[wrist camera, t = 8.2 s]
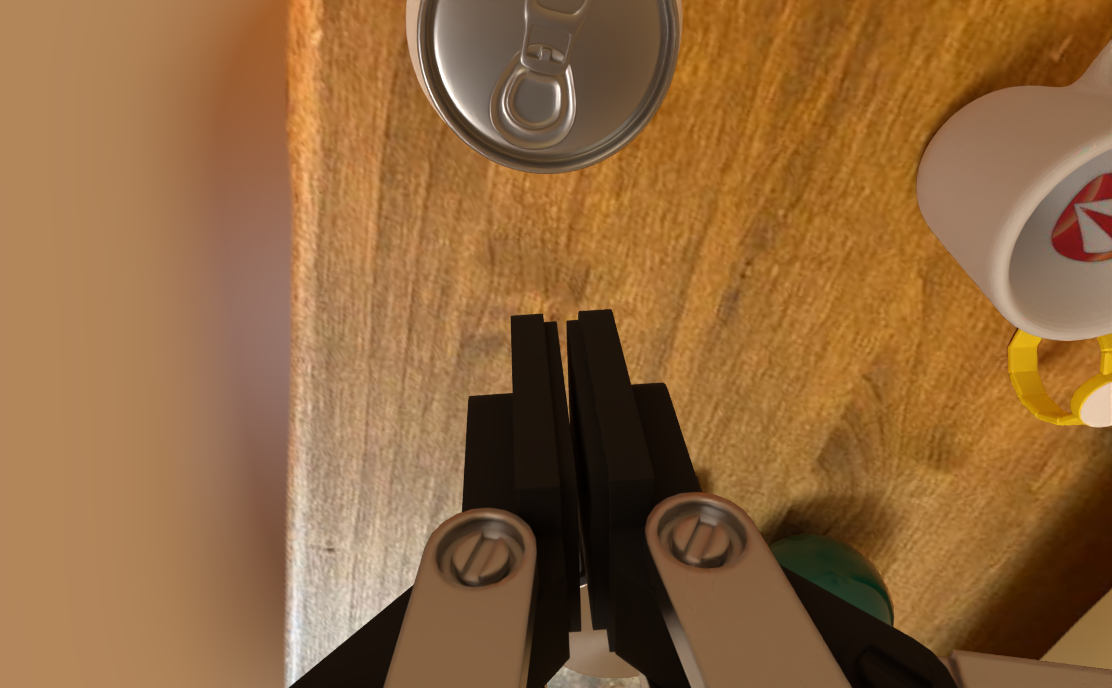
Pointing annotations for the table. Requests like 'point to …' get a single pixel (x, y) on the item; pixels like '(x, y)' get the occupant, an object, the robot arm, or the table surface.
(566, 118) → the can
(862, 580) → the sphere
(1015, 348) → the watch
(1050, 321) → the cup
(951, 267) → the table surface
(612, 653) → the brushed metal disc
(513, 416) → the robot arm
